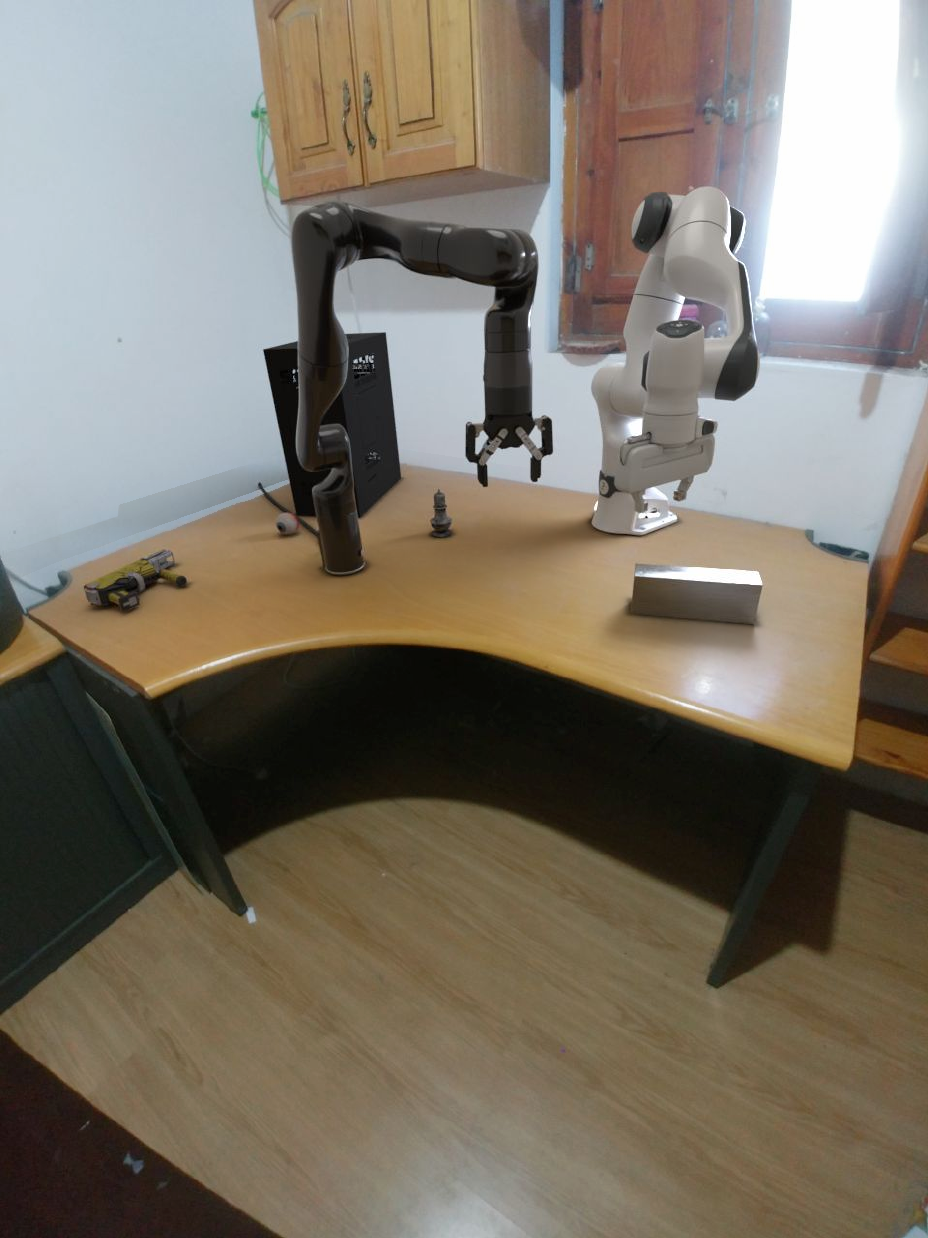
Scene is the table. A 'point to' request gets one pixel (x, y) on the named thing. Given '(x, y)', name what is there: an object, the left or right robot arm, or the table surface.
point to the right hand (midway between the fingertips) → (660, 505)
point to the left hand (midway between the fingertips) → (509, 483)
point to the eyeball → (287, 523)
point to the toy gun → (132, 581)
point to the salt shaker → (440, 517)
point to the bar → (696, 593)
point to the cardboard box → (342, 420)
